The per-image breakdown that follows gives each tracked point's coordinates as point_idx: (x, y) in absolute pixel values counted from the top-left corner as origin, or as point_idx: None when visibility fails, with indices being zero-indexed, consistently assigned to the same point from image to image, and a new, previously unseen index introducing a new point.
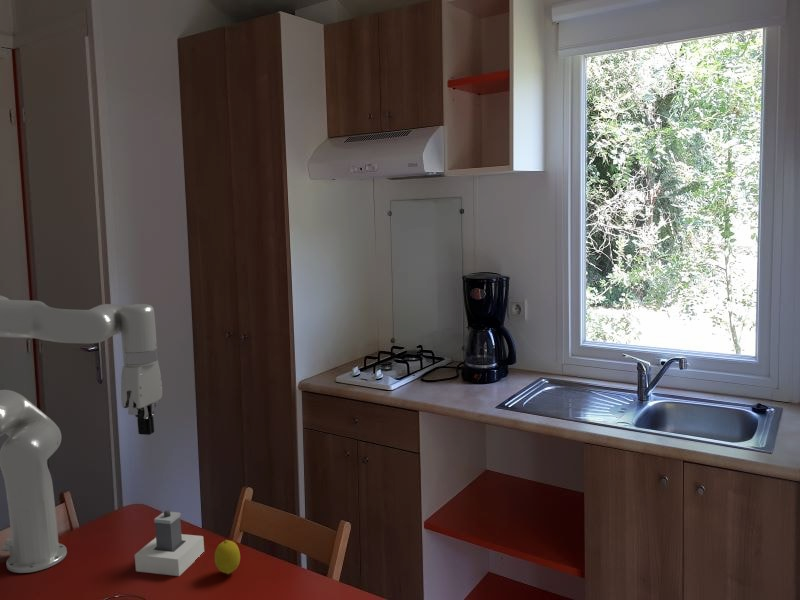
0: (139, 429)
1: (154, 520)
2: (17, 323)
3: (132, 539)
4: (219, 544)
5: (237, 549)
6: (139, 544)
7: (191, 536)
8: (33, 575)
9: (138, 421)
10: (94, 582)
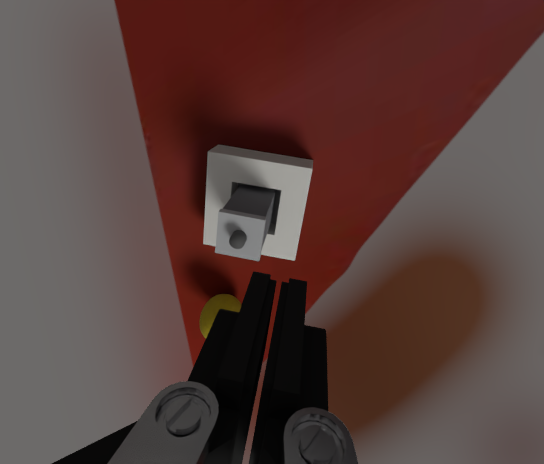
0: (216, 315)
1: (219, 211)
2: None
3: (356, 62)
4: (212, 323)
5: None
6: (329, 95)
7: (292, 239)
8: None
9: (227, 351)
10: (168, 76)
